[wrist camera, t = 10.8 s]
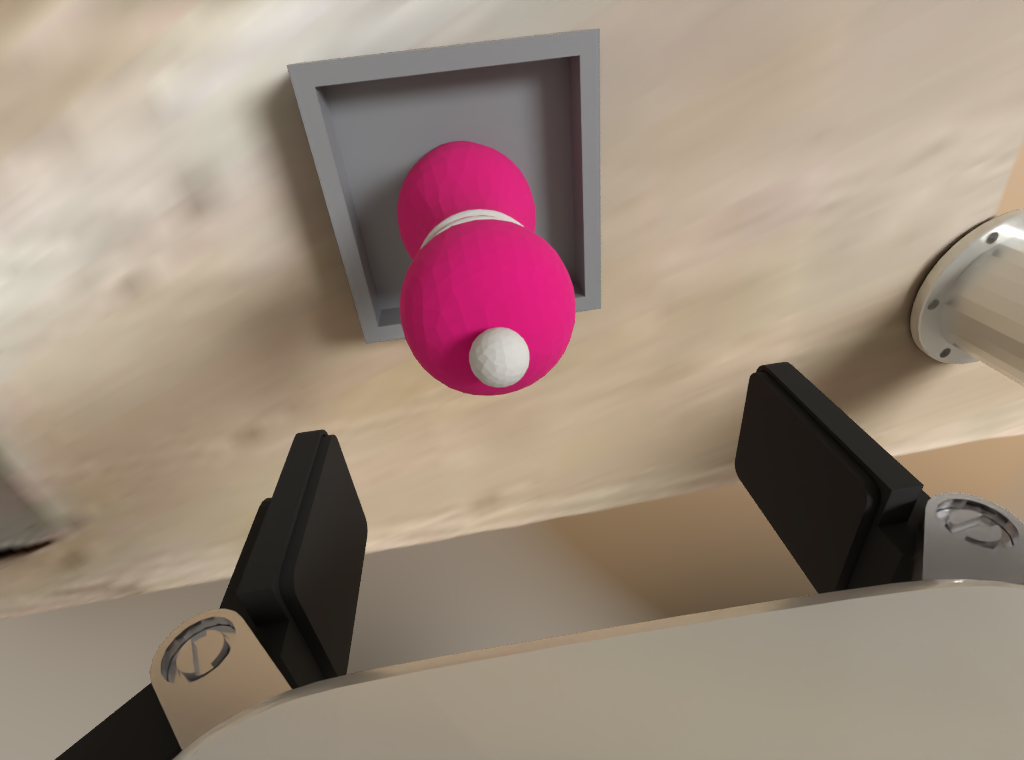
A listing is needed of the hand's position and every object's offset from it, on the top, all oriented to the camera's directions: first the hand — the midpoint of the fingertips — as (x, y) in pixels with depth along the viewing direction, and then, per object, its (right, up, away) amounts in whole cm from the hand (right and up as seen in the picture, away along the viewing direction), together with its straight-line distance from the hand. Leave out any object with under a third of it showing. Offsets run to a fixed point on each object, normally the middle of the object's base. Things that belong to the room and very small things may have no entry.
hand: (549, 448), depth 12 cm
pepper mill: (-4, +12, +20) cm, 24 cm away
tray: (-4, +13, +20) cm, 24 cm away
